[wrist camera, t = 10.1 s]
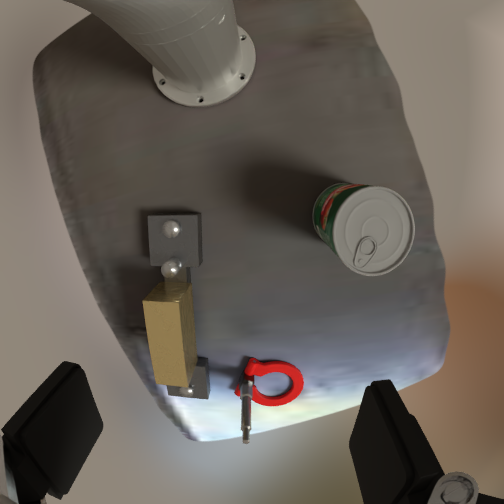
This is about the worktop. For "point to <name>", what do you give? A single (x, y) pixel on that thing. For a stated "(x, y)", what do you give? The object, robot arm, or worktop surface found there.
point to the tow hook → (251, 393)
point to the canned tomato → (365, 226)
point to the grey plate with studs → (179, 274)
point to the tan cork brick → (171, 332)
